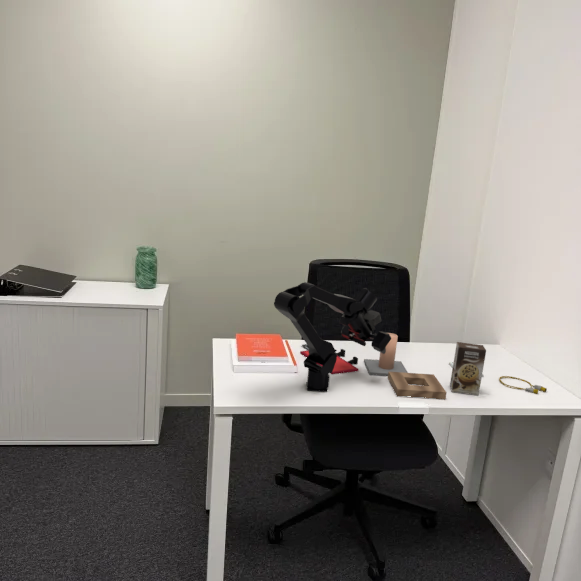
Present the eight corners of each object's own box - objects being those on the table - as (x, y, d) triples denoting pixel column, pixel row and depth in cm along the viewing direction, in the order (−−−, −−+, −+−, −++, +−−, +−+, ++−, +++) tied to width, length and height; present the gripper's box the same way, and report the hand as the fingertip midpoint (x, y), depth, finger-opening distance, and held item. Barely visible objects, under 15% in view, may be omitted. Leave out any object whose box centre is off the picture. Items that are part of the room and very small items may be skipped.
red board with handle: (323, 344, 247) (290, 348, 240) (323, 337, 247) (291, 341, 240) (366, 371, 222) (331, 376, 215) (367, 364, 222) (332, 369, 214)
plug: (385, 370, 220) (389, 338, 217) (375, 365, 225) (379, 333, 222) (396, 368, 223) (401, 336, 220) (386, 363, 228) (390, 332, 225)
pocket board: (396, 396, 200) (397, 389, 199) (387, 378, 215) (388, 371, 215) (445, 399, 201) (446, 392, 200) (432, 381, 216) (433, 374, 216)
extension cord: (520, 396, 210) (521, 391, 210) (491, 379, 224) (492, 374, 224) (549, 394, 214) (550, 389, 214) (518, 378, 229) (519, 372, 228)
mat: (369, 375, 217) (370, 372, 217) (363, 361, 231) (364, 358, 231) (409, 377, 218) (409, 374, 218) (400, 363, 231) (401, 361, 231)
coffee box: (451, 392, 207) (458, 346, 204) (449, 385, 214) (456, 341, 210) (479, 396, 206) (486, 350, 203) (476, 388, 213) (483, 344, 209)
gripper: (391, 311, 203) (408, 338, 213) (350, 298, 217) (367, 324, 227) (372, 337, 200) (390, 364, 210) (332, 322, 213) (350, 348, 223)
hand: (374, 348), depth 217 cm, fingers open, 9 cm apart
